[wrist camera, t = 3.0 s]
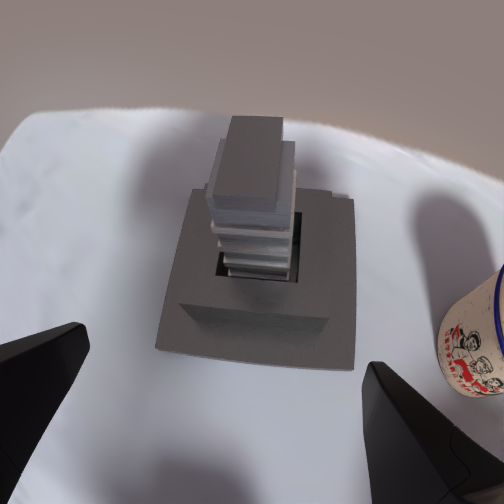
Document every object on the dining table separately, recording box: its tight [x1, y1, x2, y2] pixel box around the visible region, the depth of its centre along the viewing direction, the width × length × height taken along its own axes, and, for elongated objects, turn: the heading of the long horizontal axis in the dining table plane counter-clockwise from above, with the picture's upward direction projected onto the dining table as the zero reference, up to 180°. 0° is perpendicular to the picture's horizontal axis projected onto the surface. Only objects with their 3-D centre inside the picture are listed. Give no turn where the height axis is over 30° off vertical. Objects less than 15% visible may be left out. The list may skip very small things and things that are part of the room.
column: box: [205, 116, 297, 282], centre depth 18 cm, size 5×4×12 cm
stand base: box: [155, 184, 356, 371], centre depth 22 cm, size 14×14×6 cm
